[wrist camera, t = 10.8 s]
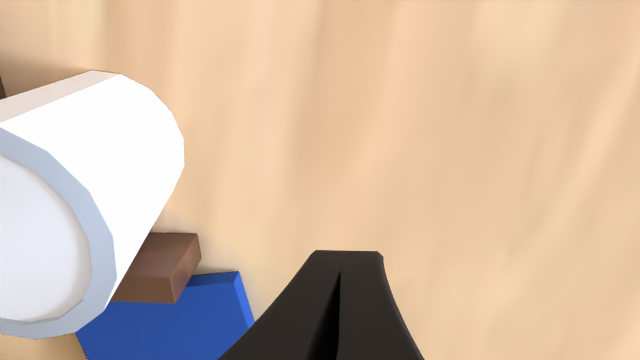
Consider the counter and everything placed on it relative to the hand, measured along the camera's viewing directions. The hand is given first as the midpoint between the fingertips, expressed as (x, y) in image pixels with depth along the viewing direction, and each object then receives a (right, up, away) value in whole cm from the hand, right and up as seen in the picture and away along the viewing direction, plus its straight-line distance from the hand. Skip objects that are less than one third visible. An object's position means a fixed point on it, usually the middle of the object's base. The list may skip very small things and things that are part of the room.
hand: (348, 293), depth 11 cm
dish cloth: (-7, -5, +14) cm, 16 cm away
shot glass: (-8, +4, +10) cm, 14 cm away
